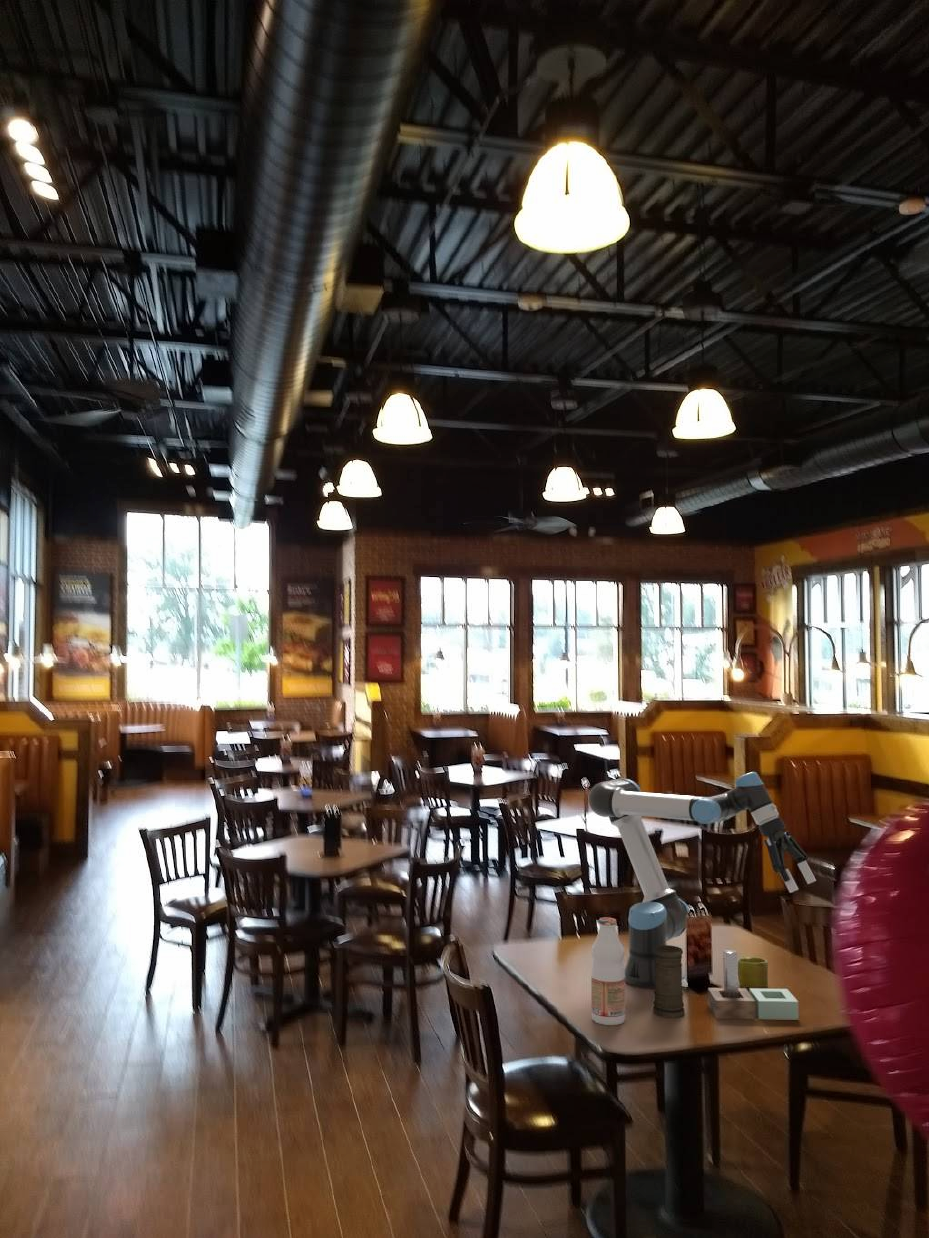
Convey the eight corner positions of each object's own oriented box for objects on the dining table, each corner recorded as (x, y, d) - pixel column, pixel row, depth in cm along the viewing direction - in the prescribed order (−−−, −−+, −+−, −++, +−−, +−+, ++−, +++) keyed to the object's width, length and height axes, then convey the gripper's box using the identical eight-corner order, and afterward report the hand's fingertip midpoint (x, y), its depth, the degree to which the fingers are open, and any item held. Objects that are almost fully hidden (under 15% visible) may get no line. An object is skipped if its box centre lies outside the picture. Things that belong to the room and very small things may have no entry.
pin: (725, 1014, 280) (725, 953, 280) (722, 1009, 284) (722, 949, 284) (740, 1014, 279) (739, 954, 280) (736, 1009, 283) (735, 950, 284)
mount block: (716, 1018, 276) (715, 1000, 276) (708, 1004, 287) (707, 987, 287) (755, 1019, 276) (755, 1001, 276) (746, 1005, 287) (745, 988, 287)
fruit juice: (586, 1022, 273) (585, 920, 275) (598, 1011, 282) (597, 913, 283) (618, 1028, 269) (617, 925, 270) (629, 1017, 277) (629, 917, 278)
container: (678, 1019, 275) (677, 955, 276) (648, 1014, 280) (647, 950, 281) (689, 1010, 283) (688, 947, 284) (659, 1004, 288) (658, 942, 288)
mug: (776, 987, 297) (764, 953, 300) (743, 995, 299) (731, 962, 302) (774, 982, 309) (763, 950, 312) (742, 990, 311) (731, 958, 314)
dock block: (759, 1019, 276) (758, 1001, 276) (749, 1005, 287) (749, 988, 287) (798, 1019, 275) (798, 1001, 275) (787, 1006, 286) (787, 988, 286)
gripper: (761, 821, 289) (797, 890, 282) (795, 810, 308) (829, 874, 301) (741, 831, 293) (775, 899, 286) (775, 820, 312) (808, 883, 305)
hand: (803, 886), depth 293 cm, fingers open, 13 cm apart
